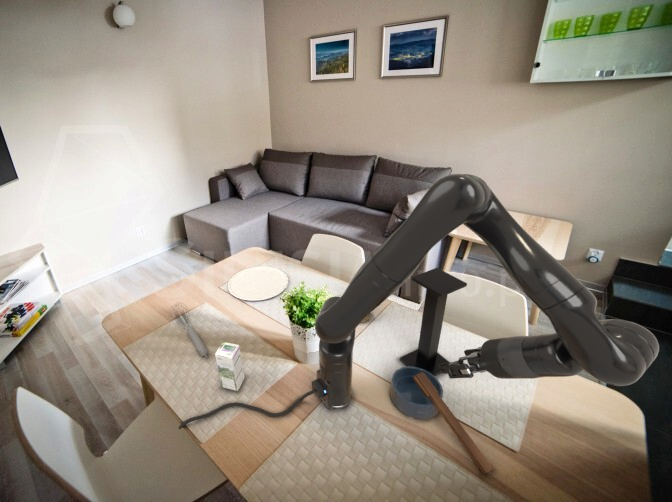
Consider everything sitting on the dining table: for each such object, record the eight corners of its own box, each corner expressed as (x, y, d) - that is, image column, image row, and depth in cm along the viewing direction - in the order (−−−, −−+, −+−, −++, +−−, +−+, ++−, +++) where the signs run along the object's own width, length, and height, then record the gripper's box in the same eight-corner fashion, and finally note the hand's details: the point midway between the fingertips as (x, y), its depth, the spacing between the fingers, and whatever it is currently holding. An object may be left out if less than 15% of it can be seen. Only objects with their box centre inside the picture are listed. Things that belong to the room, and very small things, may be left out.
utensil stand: (424, 382, 99) (438, 295, 86) (399, 360, 108) (409, 277, 94) (452, 367, 103) (469, 282, 90) (426, 347, 112) (439, 266, 98)
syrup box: (245, 377, 106) (239, 343, 100) (237, 392, 101) (231, 357, 95) (229, 373, 108) (223, 340, 102) (221, 388, 103) (214, 354, 97)
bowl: (415, 429, 86) (417, 413, 84) (380, 391, 97) (381, 377, 95) (450, 408, 91) (454, 392, 88) (413, 374, 102) (415, 360, 100)
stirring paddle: (481, 475, 75) (484, 474, 74) (412, 377, 91) (414, 375, 90) (492, 468, 77) (495, 467, 76) (421, 373, 92) (423, 370, 91)
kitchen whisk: (199, 364, 113) (196, 350, 110) (170, 315, 139) (167, 302, 137) (215, 356, 116) (212, 342, 113) (184, 309, 142) (181, 297, 140)
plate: (237, 309, 139) (237, 307, 138) (221, 277, 164) (221, 275, 163) (299, 291, 148) (298, 288, 147) (275, 262, 173) (274, 260, 172)
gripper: (527, 326, 67) (466, 335, 81) (479, 351, 62) (423, 356, 76) (549, 362, 64) (482, 365, 79) (502, 392, 59) (440, 390, 74)
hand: (453, 361), depth 77 cm, fingers open, 8 cm apart
